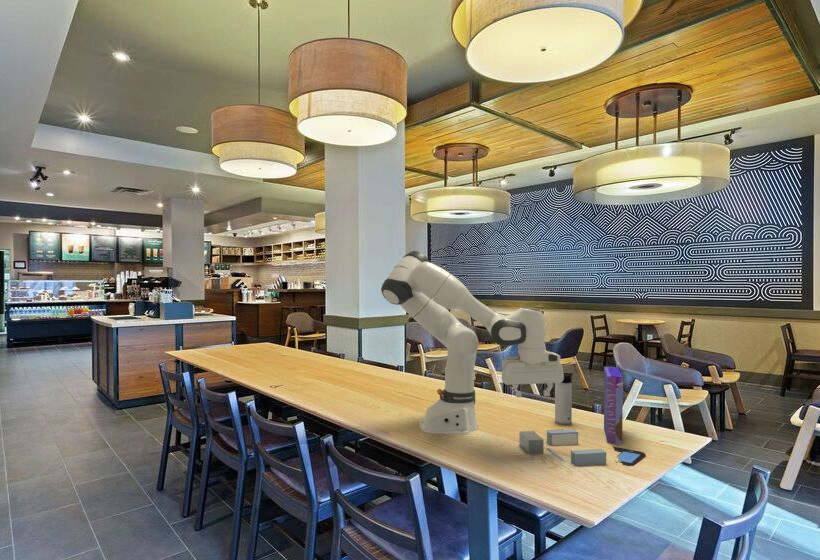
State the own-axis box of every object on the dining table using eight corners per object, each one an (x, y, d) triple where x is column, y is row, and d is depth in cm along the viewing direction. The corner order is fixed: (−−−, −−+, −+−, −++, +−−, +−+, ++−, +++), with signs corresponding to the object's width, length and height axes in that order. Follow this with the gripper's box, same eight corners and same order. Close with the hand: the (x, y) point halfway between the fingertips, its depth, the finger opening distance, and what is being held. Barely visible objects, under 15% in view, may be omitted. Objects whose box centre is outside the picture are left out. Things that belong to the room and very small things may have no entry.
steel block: (528, 458, 142) (528, 440, 142) (519, 449, 150) (519, 431, 150) (543, 458, 143) (543, 439, 143) (533, 448, 151) (533, 430, 151)
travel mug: (573, 426, 172) (573, 375, 171) (555, 425, 173) (556, 374, 173) (571, 421, 178) (571, 371, 177) (554, 420, 179) (554, 371, 179)
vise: (567, 471, 133) (567, 454, 133) (547, 452, 147) (547, 437, 147) (606, 468, 135) (606, 452, 135) (582, 450, 149) (582, 435, 149)
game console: (607, 448, 151) (607, 442, 151) (648, 459, 142) (648, 452, 142) (589, 461, 141) (589, 454, 141) (631, 474, 132) (631, 466, 132)
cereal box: (622, 446, 152) (622, 376, 151) (607, 444, 153) (607, 375, 153) (617, 429, 168) (617, 366, 168) (603, 428, 170) (604, 365, 169)
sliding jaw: (550, 448, 150) (550, 433, 150) (541, 440, 157) (541, 426, 157) (578, 446, 151) (578, 432, 151) (568, 439, 158) (568, 425, 158)
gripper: (503, 358, 144) (504, 400, 145) (565, 356, 145) (566, 398, 146) (498, 354, 151) (499, 395, 151) (557, 352, 152) (558, 393, 152)
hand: (532, 396), depth 148 cm, fingers open, 8 cm apart
